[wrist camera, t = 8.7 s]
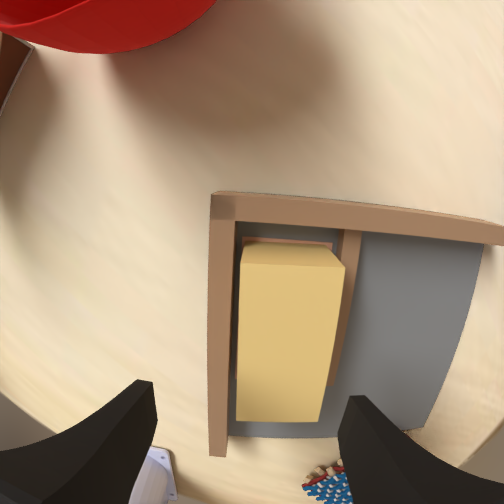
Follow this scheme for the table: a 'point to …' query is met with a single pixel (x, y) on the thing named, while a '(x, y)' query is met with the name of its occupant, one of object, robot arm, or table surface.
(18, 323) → the table surface
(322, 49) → the table surface
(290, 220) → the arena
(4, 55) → the food container
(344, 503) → the woven mat
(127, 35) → the ceramic cup
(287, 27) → the table surface
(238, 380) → the ochre block
